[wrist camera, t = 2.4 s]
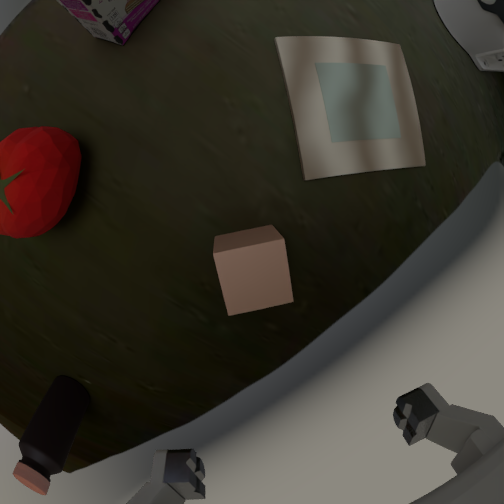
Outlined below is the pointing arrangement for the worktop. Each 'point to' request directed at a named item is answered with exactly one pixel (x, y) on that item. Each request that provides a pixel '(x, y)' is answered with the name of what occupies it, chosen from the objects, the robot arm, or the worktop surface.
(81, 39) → the worktop surface
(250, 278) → the cube
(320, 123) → the beige square mat
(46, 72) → the worktop surface
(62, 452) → the bottle
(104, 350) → the worktop surface
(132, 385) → the worktop surface
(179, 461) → the robot arm
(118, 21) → the candy bar box
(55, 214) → the tomato
